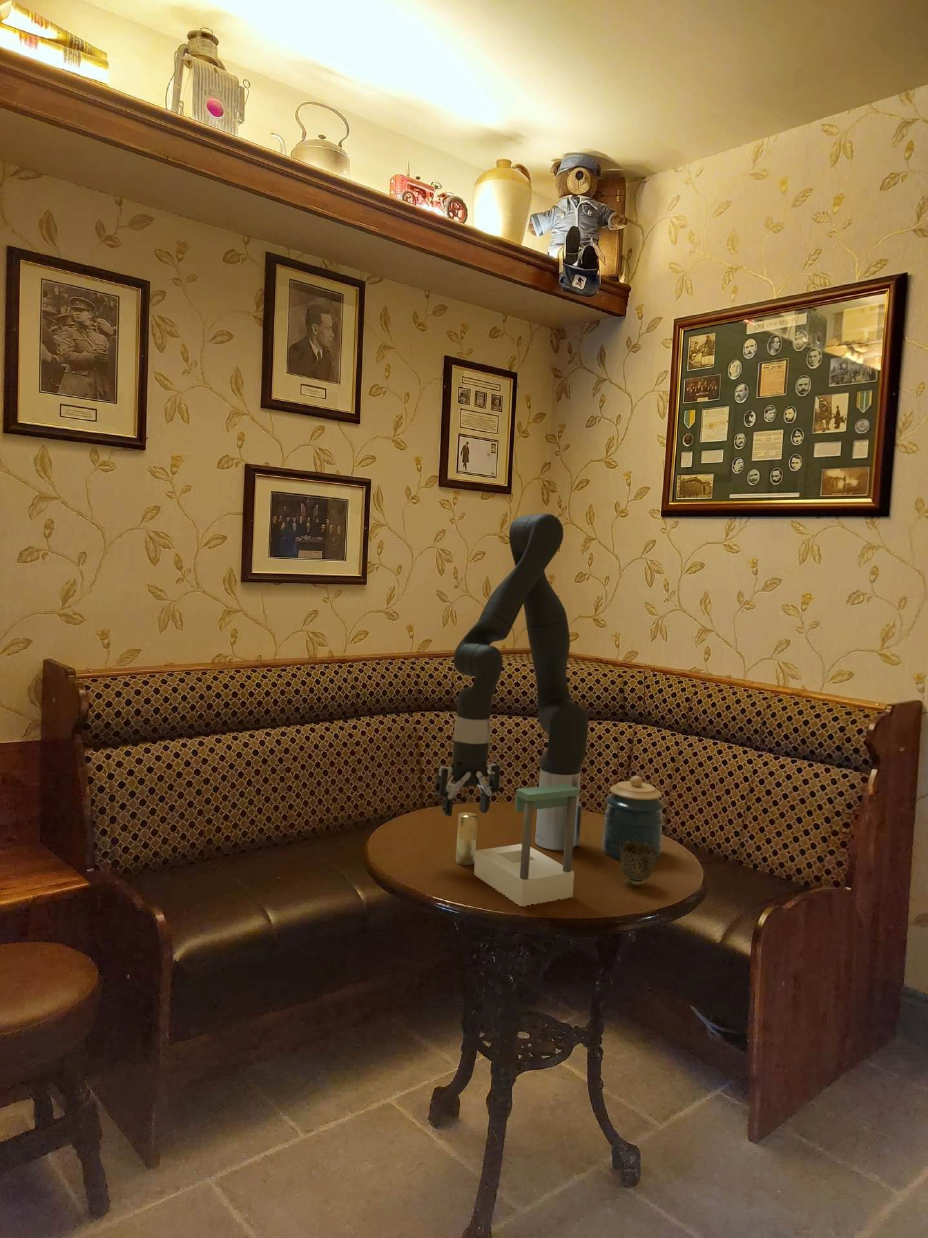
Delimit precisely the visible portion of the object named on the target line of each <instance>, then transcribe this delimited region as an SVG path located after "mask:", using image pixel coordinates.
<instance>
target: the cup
mask: <svg viewBox="0 0 928 1238" xmlns="http://www.w3.org/2000/svg"><path fill="white" fill-rule="evenodd" d="M620 846H621V844H620ZM656 854H657V847H656V848H654V846H653V845H652V846H651V847H650V845H649V844H648V843H647V844H645V843H644V842H643V843H642V844H641V845H640V846H639V843H638V842H636V843H635V844H633V842H631V841H628V842H627V843H626V842H623V846H621V847H620V859H619V860H620V868H621V871H622V873H623V875H624V876H625V877H627V878H626V882H627V885H629V886H630V887H633V888H643V887H644V886H645V885H646V880H647V879H649V878H650V877H651V876H652V875H653V871H654V868H655V863H656V860H657V859H656ZM655 859H656V860H655Z"/></svg>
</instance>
